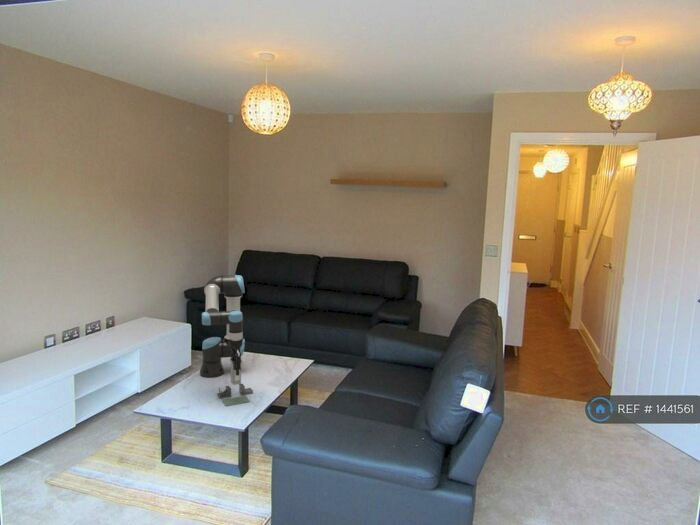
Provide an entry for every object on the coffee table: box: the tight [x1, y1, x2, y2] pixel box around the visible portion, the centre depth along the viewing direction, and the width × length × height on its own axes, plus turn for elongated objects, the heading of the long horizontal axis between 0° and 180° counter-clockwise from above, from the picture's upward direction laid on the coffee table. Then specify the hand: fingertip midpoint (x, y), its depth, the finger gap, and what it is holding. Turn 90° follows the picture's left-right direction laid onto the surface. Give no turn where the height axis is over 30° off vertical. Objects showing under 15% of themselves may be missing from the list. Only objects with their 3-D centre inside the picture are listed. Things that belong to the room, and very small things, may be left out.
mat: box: [221, 394, 251, 407], centre depth 281 cm, size 9×14×1 cm, turn 118°
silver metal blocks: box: [216, 383, 254, 400], centre depth 289 cm, size 5×20×6 cm, turn 118°
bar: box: [229, 357, 242, 386], centre depth 278 cm, size 5×5×14 cm
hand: (235, 378), depth 279 cm, fingers closed on bar, 5 cm apart
